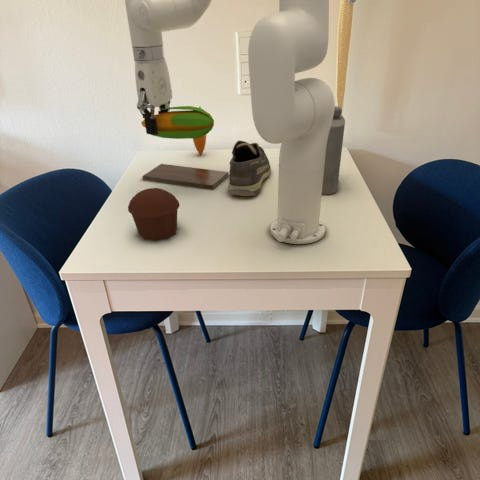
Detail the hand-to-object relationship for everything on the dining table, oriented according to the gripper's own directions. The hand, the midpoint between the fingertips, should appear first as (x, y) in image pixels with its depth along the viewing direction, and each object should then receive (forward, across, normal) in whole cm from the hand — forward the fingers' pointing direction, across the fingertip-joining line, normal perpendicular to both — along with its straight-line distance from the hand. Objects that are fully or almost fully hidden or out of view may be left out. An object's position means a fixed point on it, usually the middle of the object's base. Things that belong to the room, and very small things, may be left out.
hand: (159, 129), depth 119 cm
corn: (+2, +1, -5) cm, 6 cm away
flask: (+15, +13, -44) cm, 49 cm away
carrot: (+15, +25, +1) cm, 29 cm away
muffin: (+15, -28, -14) cm, 34 cm away
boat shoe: (+15, +10, -23) cm, 29 cm away
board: (+15, +5, -4) cm, 16 cm away
